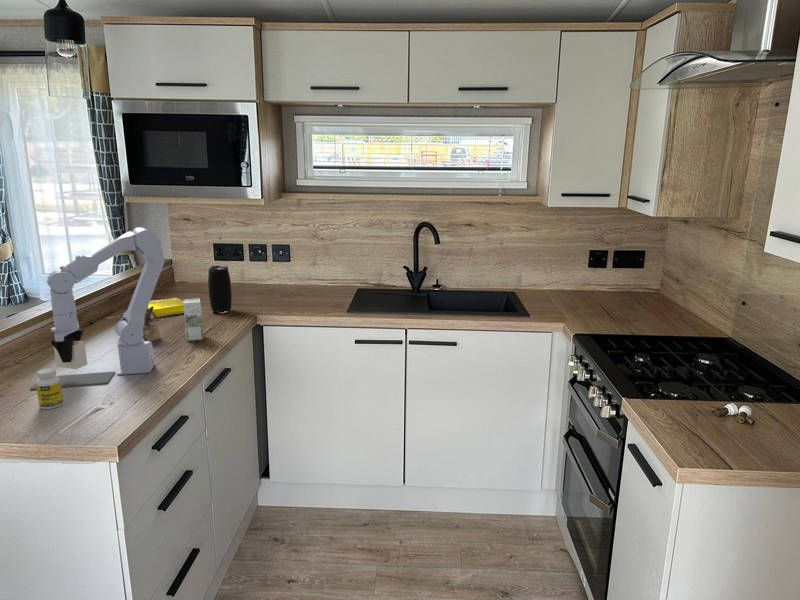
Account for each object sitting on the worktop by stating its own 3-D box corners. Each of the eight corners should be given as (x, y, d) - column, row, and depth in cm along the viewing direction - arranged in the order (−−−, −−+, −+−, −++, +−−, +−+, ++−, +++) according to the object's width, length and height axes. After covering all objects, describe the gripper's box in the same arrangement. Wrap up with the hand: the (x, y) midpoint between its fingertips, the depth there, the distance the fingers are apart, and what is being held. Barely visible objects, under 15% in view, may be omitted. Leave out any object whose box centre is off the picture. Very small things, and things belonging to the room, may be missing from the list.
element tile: (151, 319, 233) (150, 308, 231) (143, 311, 244) (142, 300, 243) (189, 313, 241) (188, 303, 240) (179, 306, 253) (178, 296, 252)
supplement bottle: (40, 411, 146) (34, 376, 144) (38, 404, 150) (33, 369, 148) (64, 406, 149) (59, 371, 147) (62, 399, 153) (57, 365, 151)
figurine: (136, 338, 206) (132, 307, 203) (156, 335, 210) (153, 303, 207) (142, 343, 200) (138, 310, 198) (162, 339, 205) (159, 307, 202)
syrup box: (203, 335, 210) (199, 297, 206) (203, 340, 204) (200, 301, 201) (186, 337, 208) (183, 298, 204) (186, 342, 202) (183, 302, 199)
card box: (67, 362, 168) (64, 339, 166) (87, 364, 166) (84, 341, 164) (56, 367, 164) (53, 343, 162) (76, 369, 162) (73, 345, 161)
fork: (53, 436, 135) (51, 429, 134) (106, 400, 154) (105, 393, 153) (65, 437, 134) (64, 430, 134) (117, 400, 153) (116, 394, 153)
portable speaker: (236, 310, 245) (233, 265, 241) (222, 315, 237) (219, 269, 232) (220, 308, 248) (217, 264, 244) (206, 313, 240) (202, 268, 235)
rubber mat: (115, 372, 173) (115, 371, 173) (107, 383, 164) (107, 382, 164) (42, 378, 168) (41, 376, 168) (30, 390, 160) (30, 388, 160)
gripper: (57, 307, 167) (63, 350, 170) (39, 320, 153) (46, 367, 157) (83, 306, 169) (89, 349, 172) (68, 318, 155) (74, 365, 158)
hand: (71, 357), depth 164 cm, fingers closed on card box, 6 cm apart
